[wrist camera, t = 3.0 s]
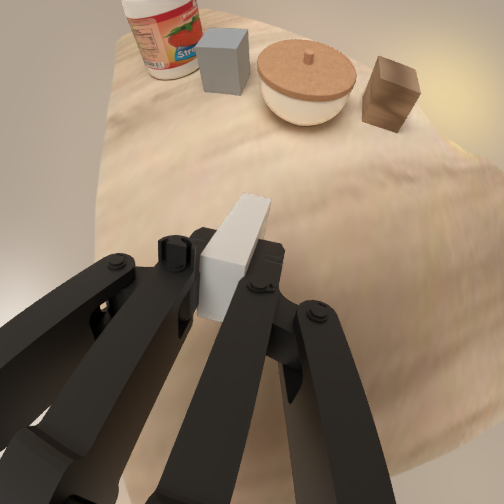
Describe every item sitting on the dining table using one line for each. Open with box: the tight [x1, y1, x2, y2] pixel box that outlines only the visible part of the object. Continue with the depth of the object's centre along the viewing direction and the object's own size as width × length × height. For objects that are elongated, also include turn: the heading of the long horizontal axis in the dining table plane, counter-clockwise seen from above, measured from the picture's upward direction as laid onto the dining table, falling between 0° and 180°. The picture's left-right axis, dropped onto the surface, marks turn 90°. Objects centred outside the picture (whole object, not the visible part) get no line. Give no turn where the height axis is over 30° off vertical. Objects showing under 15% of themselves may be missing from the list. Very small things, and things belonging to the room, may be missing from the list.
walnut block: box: [362, 56, 421, 133], centre depth 28 cm, size 5×5×8 cm
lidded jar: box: [257, 40, 356, 126], centre depth 28 cm, size 11×11×9 cm
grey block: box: [195, 28, 250, 96], centre depth 30 cm, size 5×5×8 cm
